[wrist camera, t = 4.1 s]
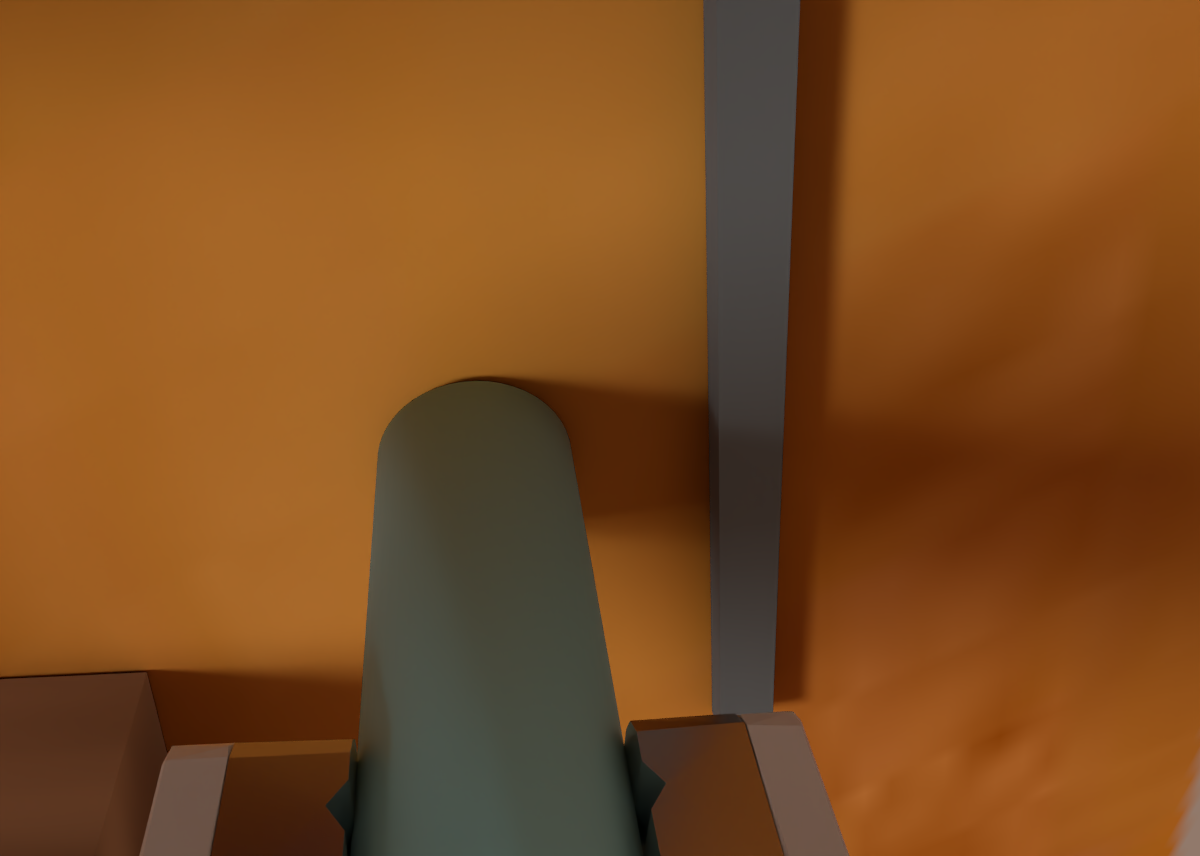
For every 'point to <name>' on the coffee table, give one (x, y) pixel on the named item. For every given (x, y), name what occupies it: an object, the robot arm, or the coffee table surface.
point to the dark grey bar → (747, 329)
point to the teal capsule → (485, 643)
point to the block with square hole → (77, 764)
